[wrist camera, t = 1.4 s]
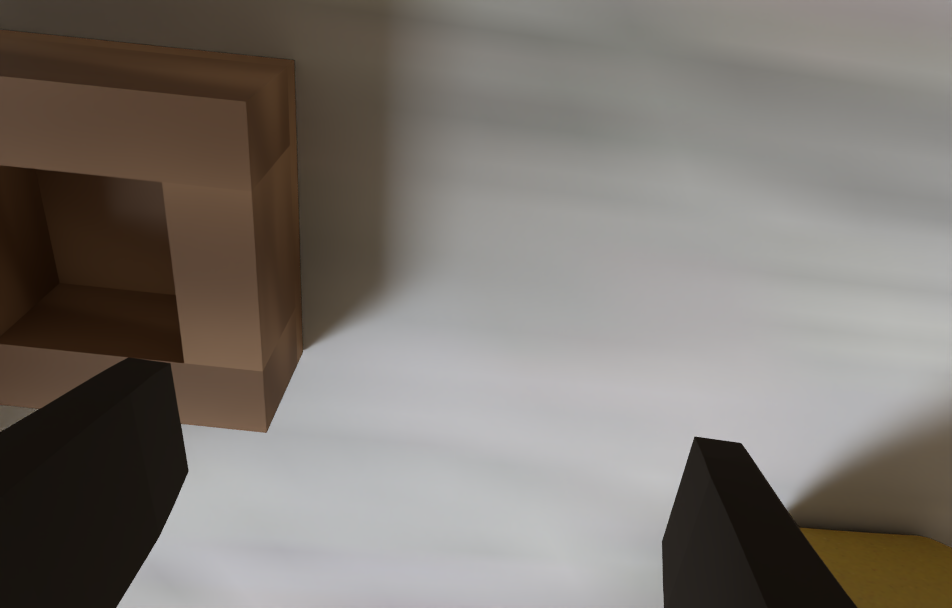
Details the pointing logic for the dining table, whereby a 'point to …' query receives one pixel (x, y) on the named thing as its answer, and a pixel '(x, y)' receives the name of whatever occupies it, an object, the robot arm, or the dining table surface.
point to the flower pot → (887, 568)
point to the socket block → (149, 222)
